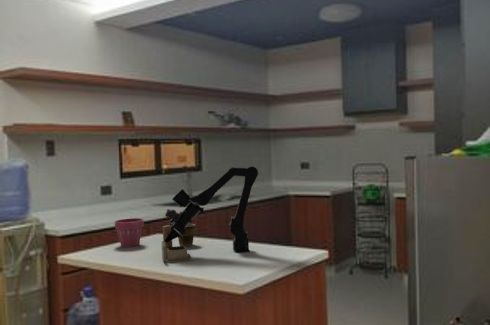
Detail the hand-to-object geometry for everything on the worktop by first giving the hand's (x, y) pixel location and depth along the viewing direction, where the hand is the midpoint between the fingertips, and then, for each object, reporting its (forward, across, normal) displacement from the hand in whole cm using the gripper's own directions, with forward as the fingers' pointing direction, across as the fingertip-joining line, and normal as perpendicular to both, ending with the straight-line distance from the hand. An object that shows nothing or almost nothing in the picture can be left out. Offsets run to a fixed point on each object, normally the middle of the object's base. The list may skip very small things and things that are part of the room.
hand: (164, 240), depth 217 cm
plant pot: (+16, -31, -6) cm, 35 cm away
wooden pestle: (+4, 0, +6) cm, 7 cm away
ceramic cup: (-2, -19, +12) cm, 23 cm away
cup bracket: (+2, +10, +8) cm, 13 cm away
